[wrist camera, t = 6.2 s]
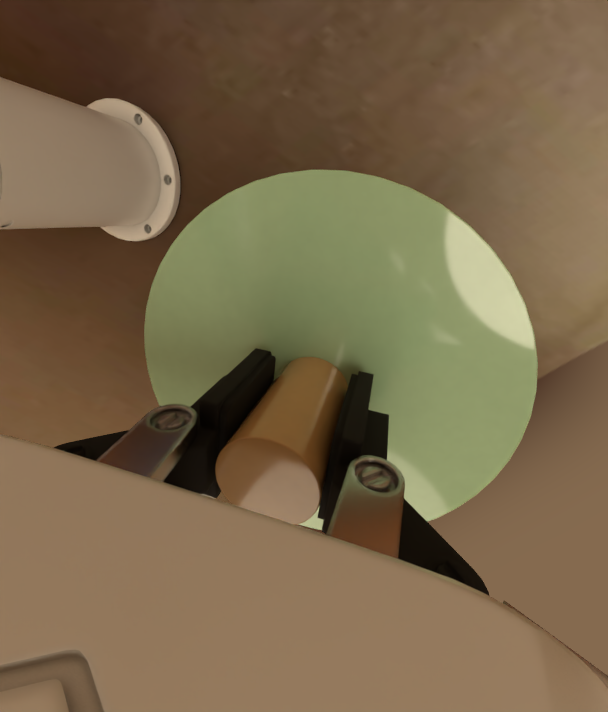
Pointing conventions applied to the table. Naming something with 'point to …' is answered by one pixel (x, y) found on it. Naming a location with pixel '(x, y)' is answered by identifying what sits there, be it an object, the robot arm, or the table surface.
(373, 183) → the lid
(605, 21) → the table surface
